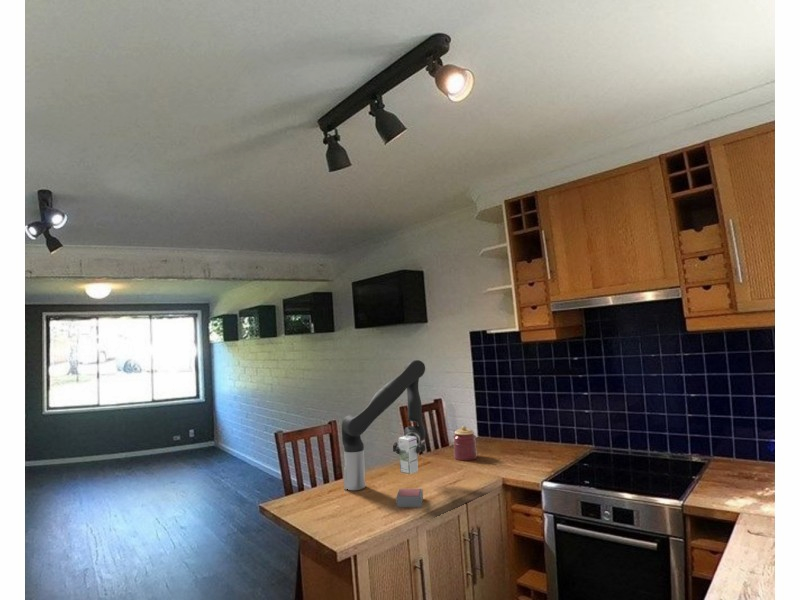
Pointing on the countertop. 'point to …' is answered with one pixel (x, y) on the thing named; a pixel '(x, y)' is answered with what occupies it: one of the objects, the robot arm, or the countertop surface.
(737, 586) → the countertop surface
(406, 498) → the display plinth
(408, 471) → the syrup box
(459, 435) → the canister
